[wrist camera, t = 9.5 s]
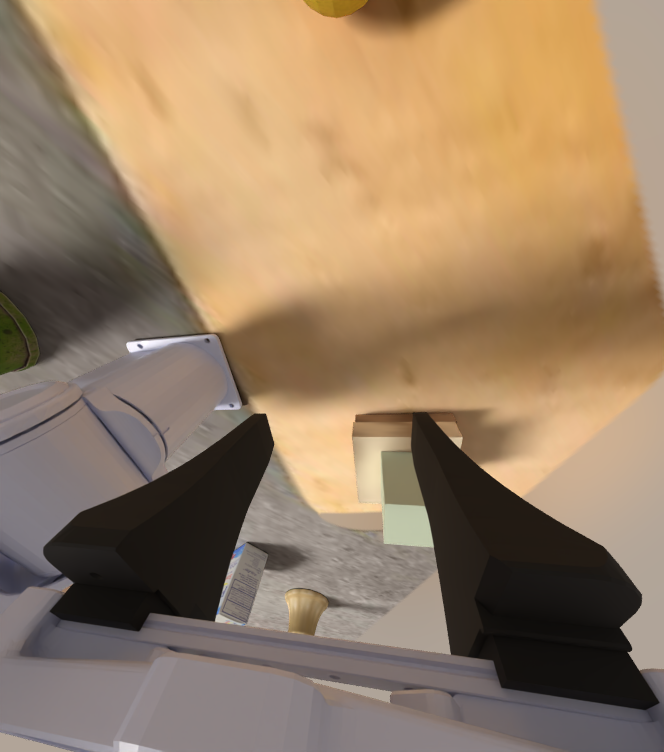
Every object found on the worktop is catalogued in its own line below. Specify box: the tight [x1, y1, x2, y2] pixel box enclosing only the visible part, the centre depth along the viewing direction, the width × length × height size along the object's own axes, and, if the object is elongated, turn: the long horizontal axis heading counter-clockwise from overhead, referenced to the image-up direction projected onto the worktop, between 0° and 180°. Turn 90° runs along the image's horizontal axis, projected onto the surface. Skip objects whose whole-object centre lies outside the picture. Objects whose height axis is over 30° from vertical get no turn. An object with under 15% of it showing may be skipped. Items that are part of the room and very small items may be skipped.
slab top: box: [352, 422, 463, 504], centre depth 24 cm, size 9×9×2 cm
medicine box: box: [215, 542, 268, 626], centre depth 37 cm, size 8×4×9 cm, turn 139°
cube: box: [381, 452, 434, 547], centre depth 20 cm, size 5×5×5 cm
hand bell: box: [285, 589, 329, 636], centre depth 39 cm, size 8×8×16 cm
